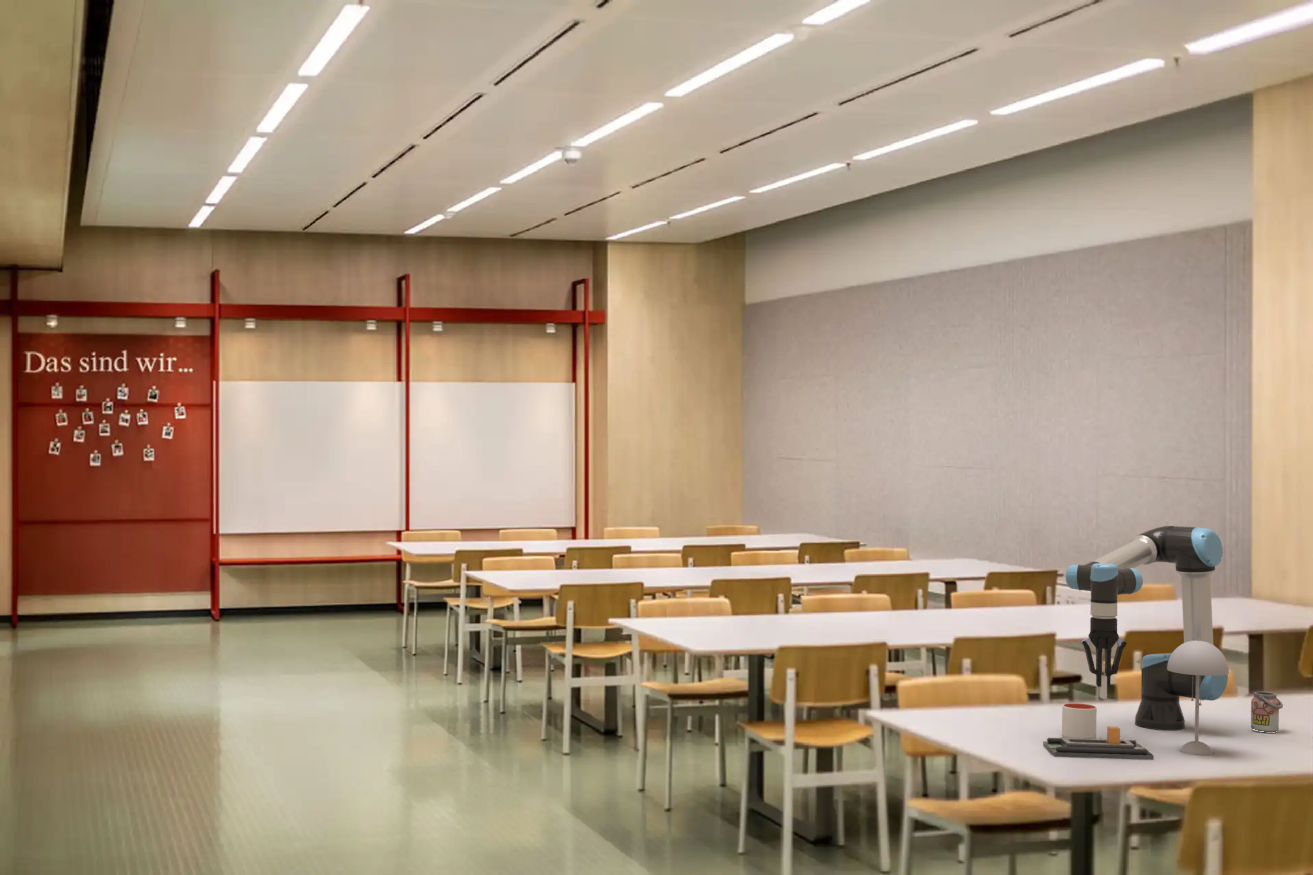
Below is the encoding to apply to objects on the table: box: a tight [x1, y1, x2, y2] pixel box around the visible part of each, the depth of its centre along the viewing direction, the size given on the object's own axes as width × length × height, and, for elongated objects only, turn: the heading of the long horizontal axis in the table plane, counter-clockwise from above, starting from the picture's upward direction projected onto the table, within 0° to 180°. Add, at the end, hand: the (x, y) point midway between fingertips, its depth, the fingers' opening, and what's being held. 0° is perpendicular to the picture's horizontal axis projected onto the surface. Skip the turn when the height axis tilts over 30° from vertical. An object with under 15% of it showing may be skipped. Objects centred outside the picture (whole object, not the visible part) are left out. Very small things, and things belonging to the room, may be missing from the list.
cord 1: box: [1046, 737, 1137, 745], centre depth 441 cm, size 26×1×1 cm, turn 86°
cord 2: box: [1056, 747, 1149, 754], centre depth 428 cm, size 26×1×1 cm, turn 86°
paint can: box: [1250, 691, 1284, 733], centre depth 473 cm, size 9×8×12 cm
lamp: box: [1167, 639, 1230, 756], centre depth 439 cm, size 17×17×33 cm
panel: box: [1042, 737, 1155, 761], centre depth 435 cm, size 28×16×3 cm, turn 86°
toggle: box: [1105, 725, 1121, 744], centre depth 435 cm, size 4×3×6 cm
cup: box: [1061, 702, 1098, 739], centre depth 455 cm, size 10×10×10 cm
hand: (1103, 697), depth 435 cm, fingers closed
